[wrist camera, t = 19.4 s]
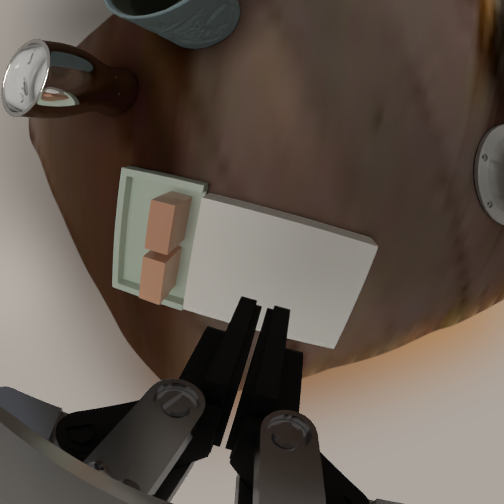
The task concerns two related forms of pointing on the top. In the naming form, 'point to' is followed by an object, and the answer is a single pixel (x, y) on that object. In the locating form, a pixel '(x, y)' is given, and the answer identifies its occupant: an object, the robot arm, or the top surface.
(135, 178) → the tray
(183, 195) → the near tile
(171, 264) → the far tile
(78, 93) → the beer glass
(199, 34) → the grey cup
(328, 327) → the white slab
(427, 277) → the top surface
